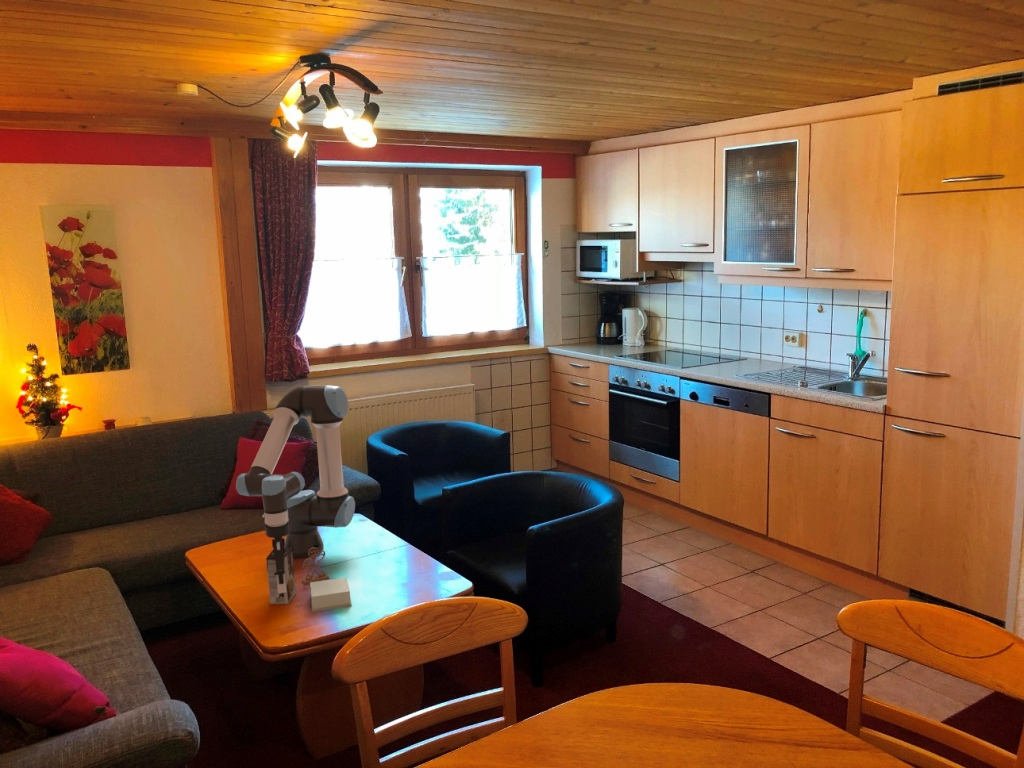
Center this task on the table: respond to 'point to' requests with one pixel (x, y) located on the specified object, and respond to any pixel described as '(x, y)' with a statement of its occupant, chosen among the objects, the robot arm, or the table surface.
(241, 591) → the table surface
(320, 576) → the gingerbread man figurine
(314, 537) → the robot arm
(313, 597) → the pedestal
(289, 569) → the coffee box
